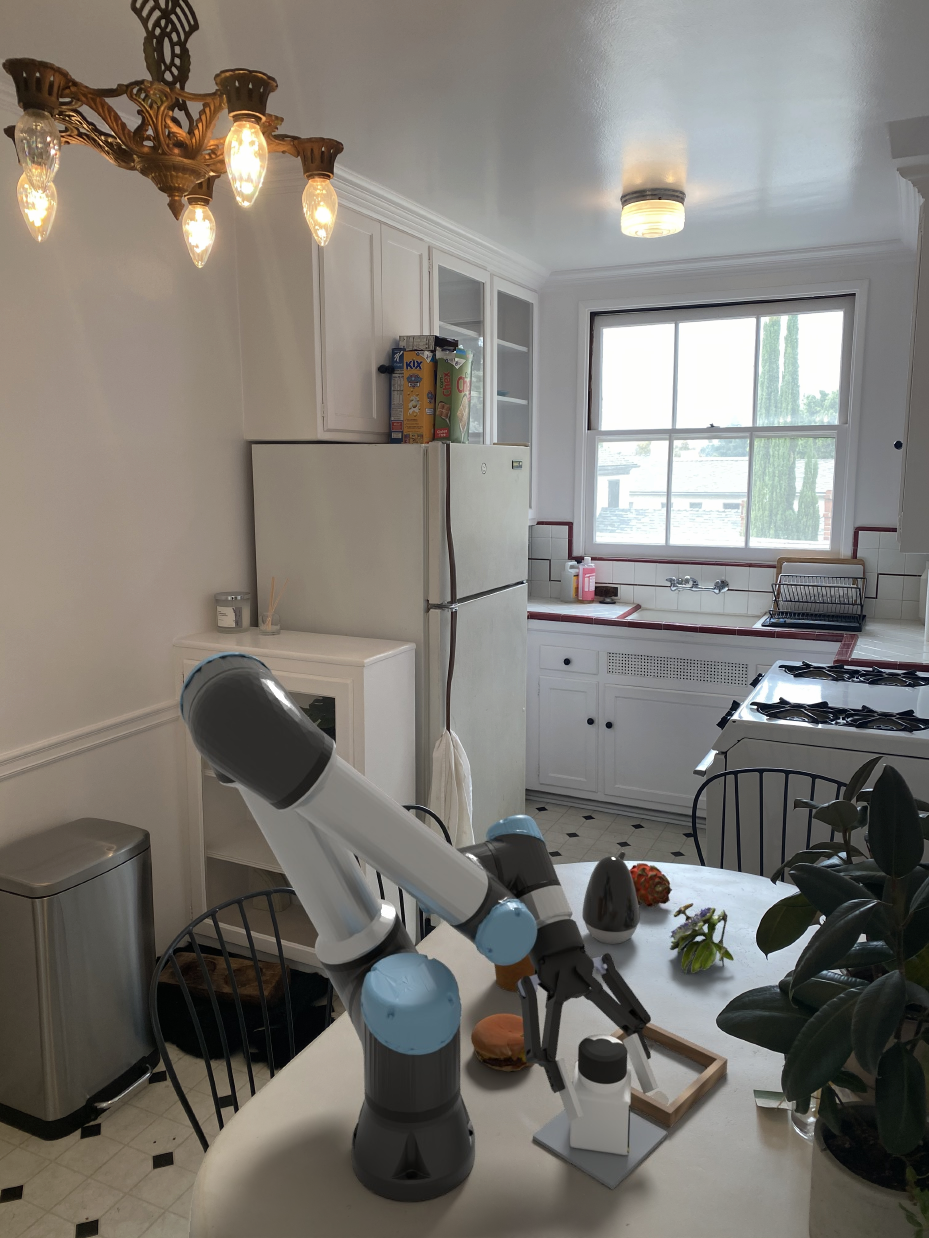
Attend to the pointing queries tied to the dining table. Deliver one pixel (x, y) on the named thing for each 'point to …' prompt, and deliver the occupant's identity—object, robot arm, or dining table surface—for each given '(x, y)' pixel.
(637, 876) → the dragon fruit
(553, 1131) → the slate mat
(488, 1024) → the burger
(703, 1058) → the walnut caddy
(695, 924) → the passion flower
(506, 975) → the disposable coffee cup
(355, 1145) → the robot arm
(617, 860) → the grey egg-shaped container
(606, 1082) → the medicine bottle
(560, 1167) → the dining table surface
